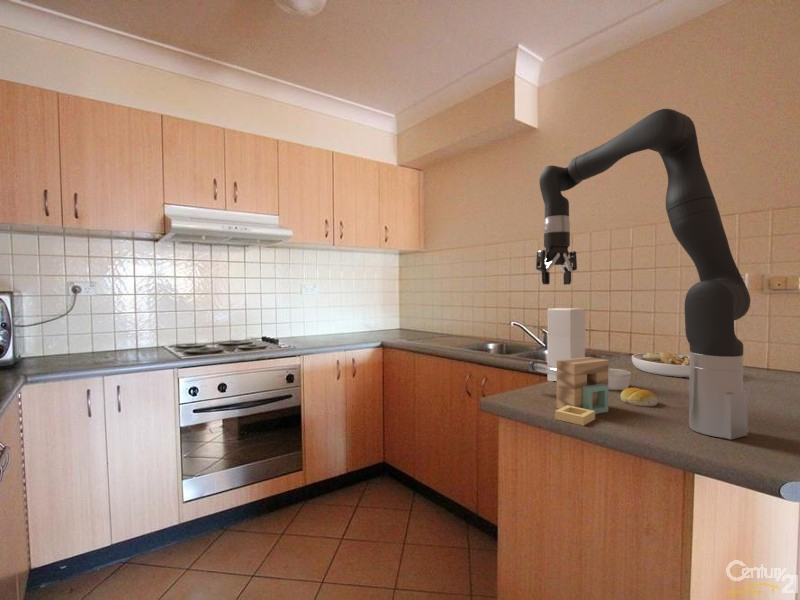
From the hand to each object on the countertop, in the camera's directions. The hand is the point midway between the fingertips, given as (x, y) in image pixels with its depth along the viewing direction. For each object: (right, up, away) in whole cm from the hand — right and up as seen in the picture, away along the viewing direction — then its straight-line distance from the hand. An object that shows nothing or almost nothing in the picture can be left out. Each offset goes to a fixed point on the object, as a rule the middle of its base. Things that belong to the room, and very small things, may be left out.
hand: (556, 284), depth 124 cm
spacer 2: (+1, -34, -22) cm, 40 cm away
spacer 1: (-6, -34, -27) cm, 44 cm away
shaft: (-4, -27, -10) cm, 29 cm away
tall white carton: (+8, -33, +13) cm, 36 cm away
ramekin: (+19, -33, +5) cm, 39 cm away
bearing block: (0, -34, -18) cm, 38 cm away
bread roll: (+18, -34, -13) cm, 40 cm away
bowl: (+57, -33, +28) cm, 72 cm away
